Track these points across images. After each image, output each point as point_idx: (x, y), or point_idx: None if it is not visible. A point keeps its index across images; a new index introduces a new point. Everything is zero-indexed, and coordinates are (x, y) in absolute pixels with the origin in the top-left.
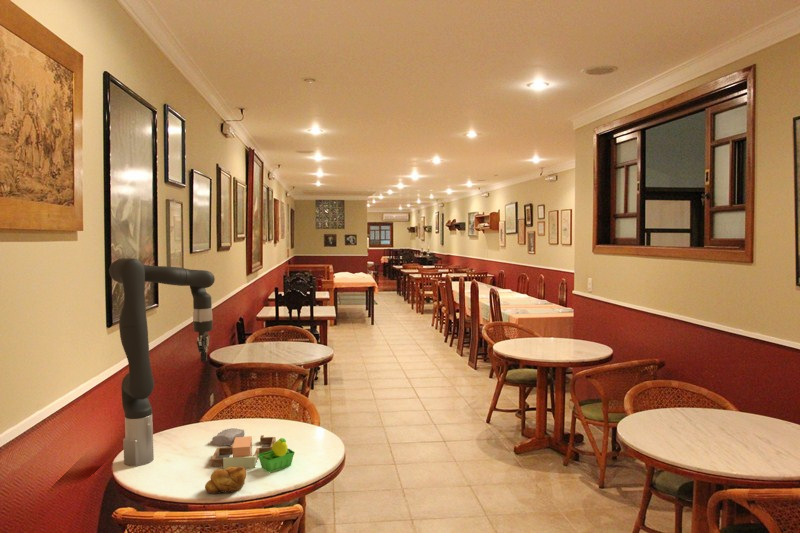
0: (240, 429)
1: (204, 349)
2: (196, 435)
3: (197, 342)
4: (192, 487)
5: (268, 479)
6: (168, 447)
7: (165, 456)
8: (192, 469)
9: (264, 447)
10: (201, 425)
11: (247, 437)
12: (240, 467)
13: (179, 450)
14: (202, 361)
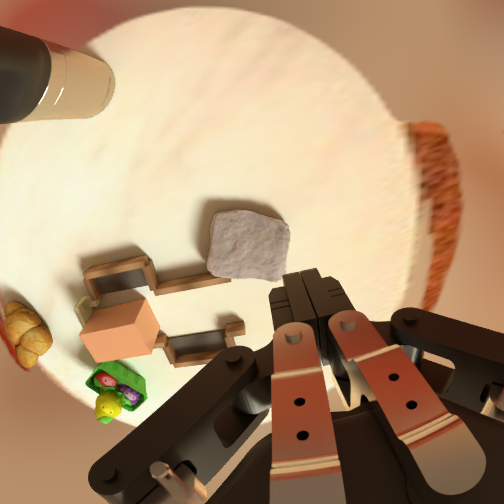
0: (277, 273)
1: (214, 428)
2: (281, 135)
3: (92, 483)
4: (17, 271)
5: (79, 370)
6: (179, 101)
7: (118, 130)
8: (67, 236)
9: (169, 355)
10: (367, 118)
11: (140, 347)
12: (22, 365)
13: (160, 143)
14: (283, 286)
